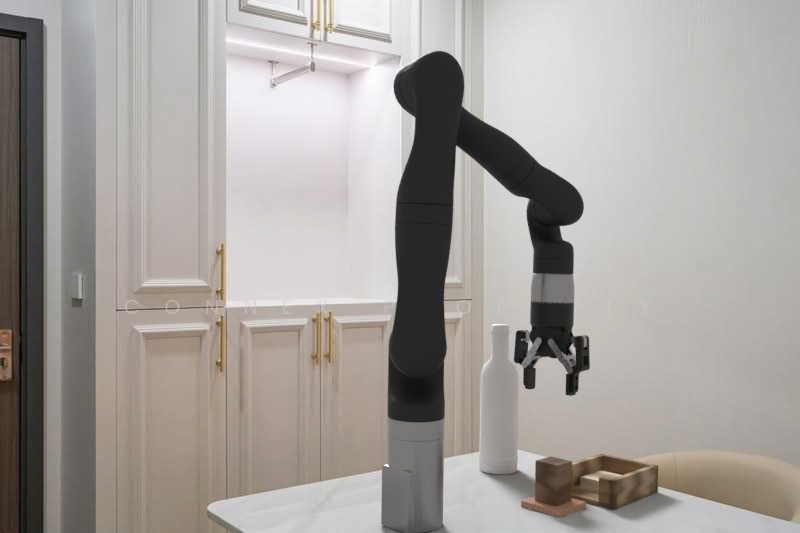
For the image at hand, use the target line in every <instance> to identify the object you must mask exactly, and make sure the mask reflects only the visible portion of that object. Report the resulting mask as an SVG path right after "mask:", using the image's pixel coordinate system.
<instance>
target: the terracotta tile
mask: <svg viewBox="0 0 800 533" xmlns="http://www.w3.org/2000/svg"><path fill="white" fill-rule="evenodd" d="M521 506H523V507H522V508H525V507H527V508H526V509H529V508H531V509H530V510H532V509H533V510H532V511H536V512H539V511H540V513H543V514H546V513H547V515H550V516H553V515H554V517H556V518H562V517H565V516H567V514H568V515H570V514H573V513H575V512H577V511H581V510H583V509H586V508H587V503H586V502H585V501H581V500H577V499H573V498H572V501H571V502H569V503H566V504H563V505H560V506H557V507H556V506H552V505H549V504H545V503H541V502H538V501H535V495H534V496H531V497H529V498H525V499H522V500H521V501H520V507H521Z"/></svg>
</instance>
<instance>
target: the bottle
mask: <svg viewBox="0 0 800 533" xmlns="http://www.w3.org/2000/svg"><path fill="white" fill-rule="evenodd" d="M510 333H511V330H510V326H509V324H505V323H494V324H493V323H492V325H491V329H490V336H491V337H490V359H488V360H487V361H486V362H485V363H483V366H482V368H481V373H480V381H479V382H480V383H479V384H480V386H479V387H480V389H479V390H480V391H479V392H480V394H479V395H480V396H479V402H480V403H479V449H478V451H479V453H478V468H479V470H480V471H481V472H484V473H486V474H490V473H492V475H499V474H502V475H510V474H511V473H512V474H514V472H515V473H516V472H517V471H518V461H519V456H518V438H519V437H518V434H519V432H518V430H519V426H518V425H519V374H518V370H517V366H516V365H515V364H514V363H513V362H512V361H511V359H510V358H509V357H510V356H509V353H510V349H509V348H510V346H509V344H510ZM512 474H511V475H512Z"/></svg>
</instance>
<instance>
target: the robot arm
mask: <svg viewBox="0 0 800 533" xmlns="http://www.w3.org/2000/svg"><path fill="white" fill-rule="evenodd" d="M464 77H465V76H464V73H463V70H462V67H461V65H460V63H459V61H458V60H457V59H456V57H454V55H452V54H451V53H449V52H447V51H444V50H435V51H431V52H428V53H426V54H423V55H421V56H419V57H417V58H416V59H414V60H412V61H409V62H408V63H407V64H405V65H404V66H402V67H401V68H400V69H399V70H398V71H397V73H396V74H395V77H394V80H393V94H394V96H395V99H396V101H397V103H398V104H399V105H400V107H401V108H402V109H403V110H404V111H405V112H407V114H410V116H412V117H414V132H413V133H414V135H413V142H412V147H411V148H410V149H411V150H410V153H409V156H408V159H407V161H406V164H405V167H404V170H403V172H402V175H401V178H400V181H399V185H398V189H397V195H396V201H395V218H394V222H395V223H394V249H395V250H394V251H395V263H396V264H395V265H396V273H397V297H396V305H395V312H394V319H393V325H392V331H391V332H390V335H389V338H388V361H387V362H388V363H387V364H388V367H387V369H388V370H387V371H388V372H387V373H388V374H387V378H388V379H387V422H386V423H387V425H386V426H387V431H386V432H387V433H386V464H384V465H382V467H381V511H380V512H381V515H380V516H381V518H380V519H381V520H380V521H381V522H380V523H381V524H380V525H382V526H385V527H387V528H390V529H392V530H395V531H399V532H401V533H425V532H426V533H428V532H432V531H436V530H438V529H440V528H441V527H442V526H443V524H444V476H445V475H444V472H445V471H444V470H445V468H444V466H445V464H444V463H445V458H444V456H445V414H446V413H445V412H446V410H445V409H446V402H445V401H446V400H445V399H446V398H445V360H446V359H445V358H446V356H447V352H448V351H447V350H448V347H447V346H448V344H447V343H448V342H447V334H446V321H445V320H446V319H445V318H446V317H445V286H446V279H447V278H446V277H447V273H448V267H449V260H450V253H451V245H452V236H453V235H452V234H453V224H454V222H453V221H454V191H455V188H454V187H455V175H456V161H457V160H456V158H457V157H456V156H457V154H456V153H457V148H459V149H460V150H461V151H462V152H464V153H465V154H466V155H468V156H469V157H470V158H471V159H472V160H474V161H475V162H476V163H477V164H479V165H480V167H482V168H483V169H485V171H487V173H489V175H490V176H492V177H493V178H494V179H495V181H497V182H498V183H500V185H502V187H504V189H505V190H507V191H508V192H509V193H511V194H512V195H513V196H515V197H519V198H525V199H528V201H527V205H526V211H525V212H526V221H527V227H528V232H529V237H530V242H531V245H532V249H533V255H532V256H533V257H532V262H533V263H532V279H531V284H530V306H529V307H530V308H529V309H530V311H529V312H530V315H529V316H530V317H529V324H530V325H531V330H530V331H529V330H527V329H521V330H517V331H516V332H515V341H514V354H513V362H514V363H515V364H519V365H520V366H522V368H523V370H522V371H523V373H522V374H523V378H522V379H523V380H522V381H523V382H522V384H523V386H524V389H526V390H534V389H535V388H536V377H537V376H536V375H537V374H536V373H537V370H536V369H537V368H536V367H535V366H536V365H537V364H538V362H539V360H540V359H542V358H550V359H557V360H558V362H559V363H560V364H562V365H563V367H564V368H565V371H566V372H567V373H565V395H566V396H569V397H571V396H576V394H577V392H578V391H579V385H580V384H579V382H580V381H579V380H580V378H579V377H580V373H581V372H584V371H585V372H586V371H589V370H590V367H591V362H590V360H591V359H590V337H589V336H588V335H586V334H585V335H584V334H583V335H574V334H573V327H574V323H575V321H574V319H575V318H574V317H575V313H574V312H575V281H574V280H575V279H574V269H575V268H574V267H575V266H574V263H575V254H574V253H575V251H574V250H575V249H574V245H573V244H571V243H570V242H569V241H567V240H564V239H563V236H562V232H561V227H565V226H571V225H573V224H575V223H577V222H578V221H579V220H580V219H581V218H582V216H583V214H584V209H585V204H584V200H583V197H582V195H581V194H580V192H579V190H578V189H577V188H576V186H574V185H573V184H572V183H571V182H569V181H568V180H566V179H565V178H564V177H562V176H561V175H559V174H557V173H556V172H554V171H552V170H551V169H549V168H547V167H545V166H543V165H541V163H539V162H538V160H536V158H534V156H533V155H531V153H530V152H528V150H526V148H524V147H523V146H522V145H521V144H520V143H519V142H518V141H516V140H515V139H514V138H512V137H511V136H510V135H508V134H507V133H505V132H504V131H502V130H500V129H498V128H497V127H495V126H492V125H491V124H489V123H487V122H486V121H483V120H482V119H480V118H479V117H477V116H476V115H474V114H473V113H471V112H469V110H468V109H466V107H465V108H464V107H463V102H464V101H463V100H464V94H465V93H464V92H465V78H464ZM530 342H531V347H530V348H529V343H530ZM572 345H573V347H574V348H575V349H574V350H575V353H574V352H573V350H572V348H571V346H572Z"/></svg>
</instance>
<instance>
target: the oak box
mask: <svg viewBox="0 0 800 533" xmlns="http://www.w3.org/2000/svg"><path fill="white" fill-rule="evenodd" d="M658 492H659V465H658V464H657V465H656V464H652V463H647V462H644V461H643V462H642V461H638V460H633V459H629V458H623V457H619V456H614V455H610V454H609V455H608V454H603V453H599V454H596V455H593V456H590V457H586V458H582V459H579V460H576V461H572V498H573V499H577V500H581V501H585V502H586V504H590V505H592V506H593V505H594V506H598V507H602V508H604V509H609V510H613V511H615V510H617V509H619V508H623V507H625V506H627V505H630V504H632V503H635V502H638V501H639V500H642V499H645V498H647V497H649V496H651V495H655V494H656V493H658Z"/></svg>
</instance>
